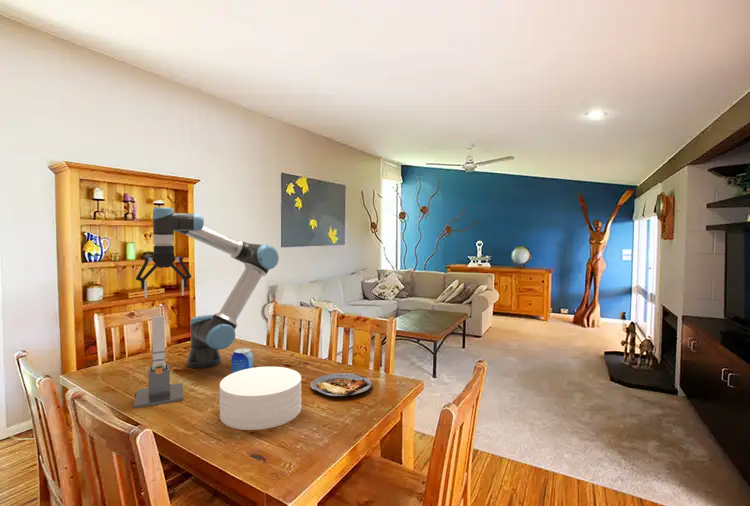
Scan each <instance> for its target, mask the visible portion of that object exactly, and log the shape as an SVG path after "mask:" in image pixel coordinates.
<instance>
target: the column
mask: <svg viewBox="0 0 750 506" xmlns="http://www.w3.org/2000/svg"><path fill="white" fill-rule="evenodd" d="M151 321H152V322H151V323H152V325H151V327H152V328H151V330H152V332H151V333H152V351H151V354H152V358H151V360H152V370H153V371H155V369H157V368H163V370H165V369H166V365H167V361H166V358H167V357H166V350H167V349H166V340H165V339H166V335H165V334H166V333H165V331H166V330H165V314H162V315H161V314H160V315H159V314H157V315H152V317H151Z"/></svg>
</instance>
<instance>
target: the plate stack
mask: <svg viewBox="0 0 750 506" xmlns="http://www.w3.org/2000/svg"><path fill="white" fill-rule="evenodd" d="M301 410H302V375H301V374H300V373H299V372H298V371H296V370H294V369H292V368H289V367H283V366H256V367H253V368H249V369H245V370H241V371H237V372H235V373H232V372H231V373H230V374H228V375H227V376H225V377H223V378H222V380H220V382H219V418H220V421H221V423H223V424H224V425H225V426H227V427H230V428H233V429H237V430H241V431H242V430H243V431H244V430H245V431H246V430H247V431H258V430H266V429H271V428H276V427H279V426H282V425H284V424H287V423H289V422H290V421H292V420H294V419H295V418H297V416H299V415H300V413H301Z"/></svg>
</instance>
